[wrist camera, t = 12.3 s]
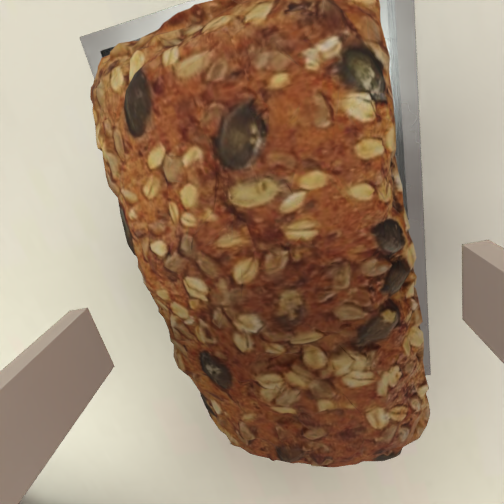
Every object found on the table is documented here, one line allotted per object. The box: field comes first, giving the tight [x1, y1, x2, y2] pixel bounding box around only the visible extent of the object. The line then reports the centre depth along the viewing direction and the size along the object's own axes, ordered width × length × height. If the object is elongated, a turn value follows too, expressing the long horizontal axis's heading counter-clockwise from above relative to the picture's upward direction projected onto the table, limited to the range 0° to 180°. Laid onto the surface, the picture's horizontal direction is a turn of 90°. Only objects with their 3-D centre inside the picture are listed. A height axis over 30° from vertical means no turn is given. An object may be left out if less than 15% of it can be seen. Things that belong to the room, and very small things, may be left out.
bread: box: [91, 0, 430, 467], centre depth 15 cm, size 19×11×10 cm, turn 15°
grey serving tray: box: [80, 0, 431, 375], centre depth 21 cm, size 16×24×4 cm, turn 13°
